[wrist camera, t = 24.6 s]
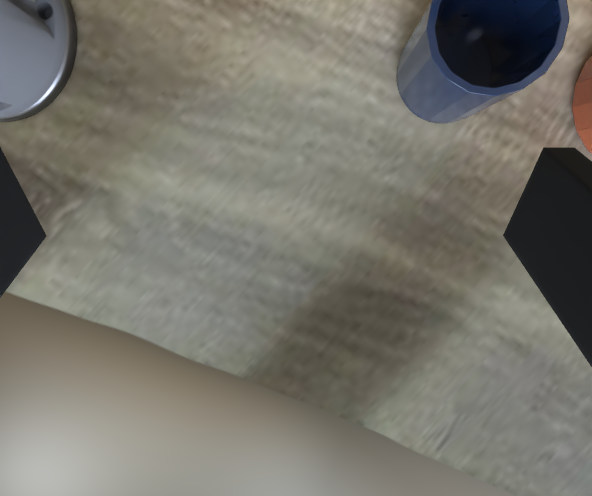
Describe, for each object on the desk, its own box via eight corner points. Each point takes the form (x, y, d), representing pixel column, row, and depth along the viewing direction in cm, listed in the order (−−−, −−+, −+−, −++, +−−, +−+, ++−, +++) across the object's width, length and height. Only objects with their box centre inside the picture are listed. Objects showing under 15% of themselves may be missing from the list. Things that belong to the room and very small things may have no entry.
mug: (482, 129, 34) (549, 104, 24) (388, 116, 34) (415, 85, 24) (514, -15, 32) (600, -107, 22) (414, -28, 32) (455, -124, 22)
